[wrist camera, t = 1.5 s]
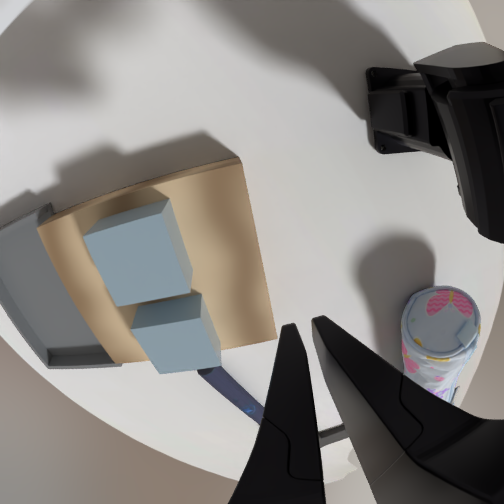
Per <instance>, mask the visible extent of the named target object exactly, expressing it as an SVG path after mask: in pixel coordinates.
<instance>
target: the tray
mask: <svg viewBox="0 0 504 504" xmlns="http://www.w3.org/2000/svg"><path fill="white" fill-rule="evenodd" d="M53 215H54V213H53V210H52V207H51V205H50V203H49V204H46V205H44V206H42V207H40V208H38V209H36V210H34V211H32V212H30V213H28V214H26V215H24V216H22V217H20V218H18V219H16V220H14V221H12V222H11V223H9V224H7V225H5V226H3V227H1V228H0V304H1V306H2V307H3V309H4V310H5V312H6V313H7V315H8V317H9V318H10V320H11V321H12V323H13V324H14V325H15V327H16V328H17V330H18V331H19V333H20V334H21V335H22V337H23V338H24V339H25V341H26V342H27V343H28V345H29V346H30V347H31V349H32V350H33V351H34V352H35V354H36V355H37V356H38V357H39V359H40V360H41V361H42V362H43V363H44V365H45V366H46V367H47V368H48V369H84V368H105V367H120V366H122V363H119V364H115V362H114V361H113V360H112V358H111V357H110V356H109V354H108V353H107V352H106V350H105V349H104V348H103V346H102V345H101V343H100V342H99V341H98V339H97V338H96V336H95V335H94V333H93V332H92V330H91V329H90V327H89V326H88V324H87V323H86V321H85V320H84V318H83V316H82V315H81V313H80V312H79V310H78V308H77V307H76V305H75V303H74V302H73V300H72V298H71V297H70V295H69V293H68V291H67V290H66V288H65V286H64V284H63V282H62V281H61V279H60V277H59V275H58V273H57V271H56V269H55V267H54V265H53V263H52V261H51V259H50V257H49V255H48V253H47V251H46V249H45V247H44V244H43V242H42V240H41V238H40V235H39V233H38V231H37V227H38V226H40V225H41V224H42V223H43V222H45V221H46V220H47V219H48V218H50V217H51V216H53Z"/></svg>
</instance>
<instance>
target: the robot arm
mask: <svg viewBox="0 0 504 504" xmlns="http://www.w3.org/2000/svg"><path fill="white" fill-rule="evenodd" d="M413 64H414V66H415V68H416V70H417V71H412V70H403V69H393V68H379V67H372V68H368V69H367V70H366V78H367V84H368V90H369V94H368V100H369V107H370V115H371V123H372V128H373V129H374V138H375V148H376V151H377V152H378V153H380V154H393V153H404V152H416V151H424V152H427V153H430V154H433V155H436V156H439V157H442V158H445V159H448V160H450V161H453V165H454V169H455V173H456V177H457V181H458V186H457V187H458V192H459V195H460V196H461V198H462V203H463V207H464V210H465V213H466V215H467V217H468V218H469V220H470V221H471V222H472V223H473V224H474V225H475V226H476V227H477V228H478V233H479V234H480V235H482V236H484V237H486V238H488V239H490V240H493V241H496V242H499V243H503V244H504V51H503V50H501V49H499V48H496V47H494V46H492V45H490V44H487V43H485V42H477V43H468V44H460V45H455V46H452V47H450V48H447V49H445V50H442V51H440V52H437V53H435V54H433V55H430V56H428V57H426V58H423V59H421V60H419V61H417V62H414V63H413ZM372 71H373V72H374V74H375V76H374V77H373V76H372V74H371V73H372ZM382 145H383V146H384V148H383V150H381V146H382ZM311 323H312V337H313V342H314V345H315V349H316V352H317V355H318V359H319V362H320V366H321V369H322V372H323V376H324V379H325V382H326V384H327V387H328V389H329V392H330V394H331V396H332V399H333V401H334V403H335V405H336V408H337V410H338V412H339V415H340V417H341V419H342V422H343V424H344V426H345V429H346V431H347V433H348V436H349V438H350V440H351V443H352V445H353V447H354V450H355V452H356V454H357V457H358V459H359V461H360V464H361V466H362V468H363V471H364V473H365V476H366V478H367V480H368V483H369V485H370V488H371V490H372V493H373V495H374V498H375V500H376V502H377V504H504V420H492V419H483V418H479V417H476V416H473V415H471V414H469V413H467V412H465V411H463V410H461V409H460V408H458V407H456V406H454V405H452V404H450V403H449V402H447V401H445V400H443V399H441V398H439V397H438V396H436V395H434V394H433V393H431V392H429V391H428V390H426V389H424V388H423V387H421V386H420V385H419V384H417V383H416V382H414V381H413V380H411V379H410V378H409V377H407V376H406V375H403V373H402V372H400V371H399V370H398V369H396V368H395V367H394V366H392V365H391V364H390V363H388V362H387V361H385V360H384V359H383V358H381V357H380V356H379V355H377V354H376V353H375V352H373V351H372V350H371V349H369V348H368V347H367V346H365V345H364V344H363V343H361V342H360V341H358V340H357V339H356V338H354V337H353V336H352V335H350V334H349V333H348V332H346V331H345V330H344V329H342V328H341V327H340V326H338V325H337V324H336V323H334V322H333V321H332V320H330V319H329V318H328V317H326V316H324V315H322V316H318V317H314V318H312V321H311ZM262 417H263V418H262V419H261V423H260V427H259V431H258V434H257V438H256V441H255V444H254V447H253V450H252V452H251V455H250V457H249V460H248V462H247V465H246V467H245V469H244V471H243V473H242V476H241V478H240V480H239V482H238V484H237V486H236V488H235V490H234V493H233V495H232V497H231V498H230V500H229V502H228V504H326V497H325V488H324V482H323V480H324V479H323V469H322V460H321V451H320V443H319V435H318V427H317V419H316V412H315V405H314V398H313V391H312V384H311V377H310V371H309V364H308V358H307V353H306V350H305V347H304V344H303V342H302V339H301V337H300V334H299V332H298V329H297V326H296V324H295V323H291V324H286V325H283V326H282V328H281V333H280V338H279V343H278V348H277V353H276V357H275V362H274V367H273V372H272V376H271V381H270V385H269V390H268V394H267V398H266V403H265V407H264V411H263V415H262Z"/></svg>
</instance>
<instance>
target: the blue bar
mask: <svg viewBox="0 0 504 504" xmlns="http://www.w3.org/2000/svg"><path fill="white" fill-rule="evenodd" d="M197 371H198V374H199V375H200V376H201V377H202V378H204V379H205V380H206V381H207V382H208V383H209V384H210V385H211V386H213V387H214V388H215V389H216V390H217V391H218V392H220V393H221V394H222V395H223V396H224V397H225V398H227V399H228V400H229V401H230V402H232V403H233V404H234V405H235V406H236V407H238V408H239V409H240V410H241V411H243V412H244V413H245V414H246V415H248V416H249V417H250V418H252V419H253V420H254V421H256V422H257V423H258V424H260V423H261V419H262V418H263V417H262V415H263V411H264V407H263V406H262V405H261V404H260V403H258V402H257V401H256V400H255V399H254V398H253V397H252V396H251V395H250V394H249V393H248V392H247V391H246V390H245V389H244V388H242V387H241V386H240V385H239V384H238V383H237V382H236V381H235V380H234V379H233V378H232V377H231V376H230V375H229V374H228V373H227V372H226V371H225V370H224V369H223V368H222V367H221V366H217V367H211V368H205V369H198V370H197ZM318 435H319V443H320V448H321V447H323V446H325V445H328V444H331V443H334V442H337V441H340V440H343V439H345V438H348V437H349V436H348V433H347V431H346V429H345V426H344V425H342V426H339V427H336V428H333V429H330V430H327V431H324V432H321V433H318Z"/></svg>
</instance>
